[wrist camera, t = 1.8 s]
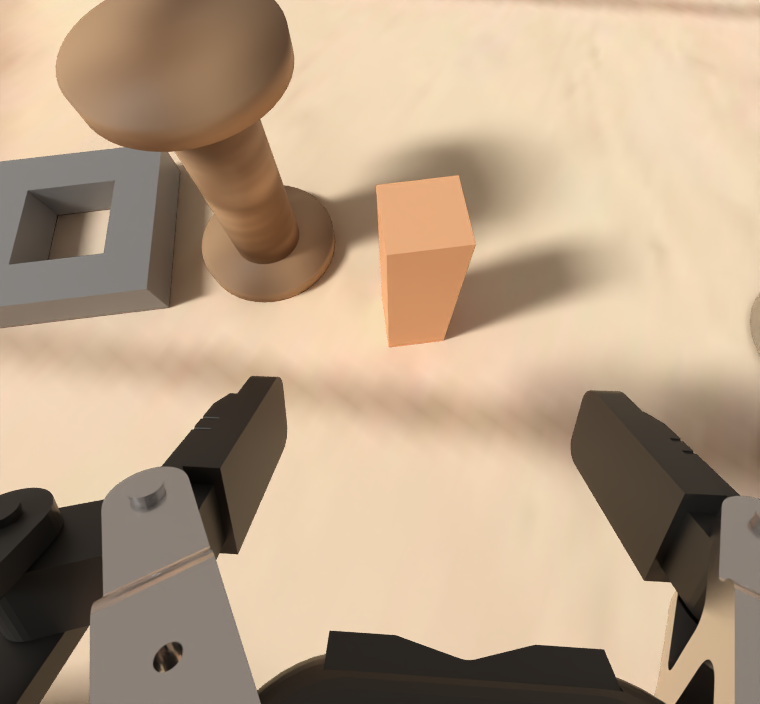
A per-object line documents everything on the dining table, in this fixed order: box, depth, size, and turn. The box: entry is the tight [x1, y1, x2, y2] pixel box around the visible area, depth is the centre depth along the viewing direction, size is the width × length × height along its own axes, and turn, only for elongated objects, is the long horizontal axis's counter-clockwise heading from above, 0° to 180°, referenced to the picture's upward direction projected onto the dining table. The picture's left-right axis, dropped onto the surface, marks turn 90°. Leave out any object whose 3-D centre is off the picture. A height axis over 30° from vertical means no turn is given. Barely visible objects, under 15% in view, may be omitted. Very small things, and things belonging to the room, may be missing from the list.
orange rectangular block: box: [376, 175, 476, 347], centre depth 20 cm, size 4×4×10 cm
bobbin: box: [56, 0, 335, 302], centre depth 21 cm, size 9×9×13 cm
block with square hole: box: [0, 147, 180, 328], centre depth 26 cm, size 12×12×2 cm
